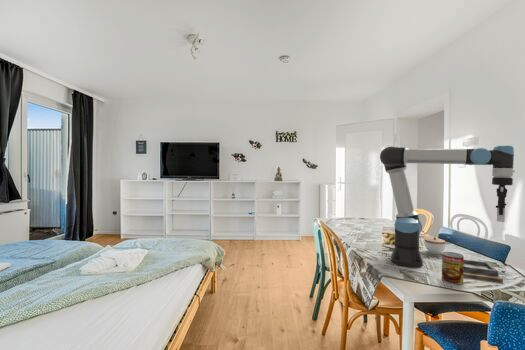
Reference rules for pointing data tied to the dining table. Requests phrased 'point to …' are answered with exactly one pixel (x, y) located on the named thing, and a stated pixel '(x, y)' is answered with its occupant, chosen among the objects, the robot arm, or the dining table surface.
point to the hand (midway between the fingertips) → (500, 219)
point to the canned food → (452, 267)
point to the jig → (480, 271)
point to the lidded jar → (435, 245)
